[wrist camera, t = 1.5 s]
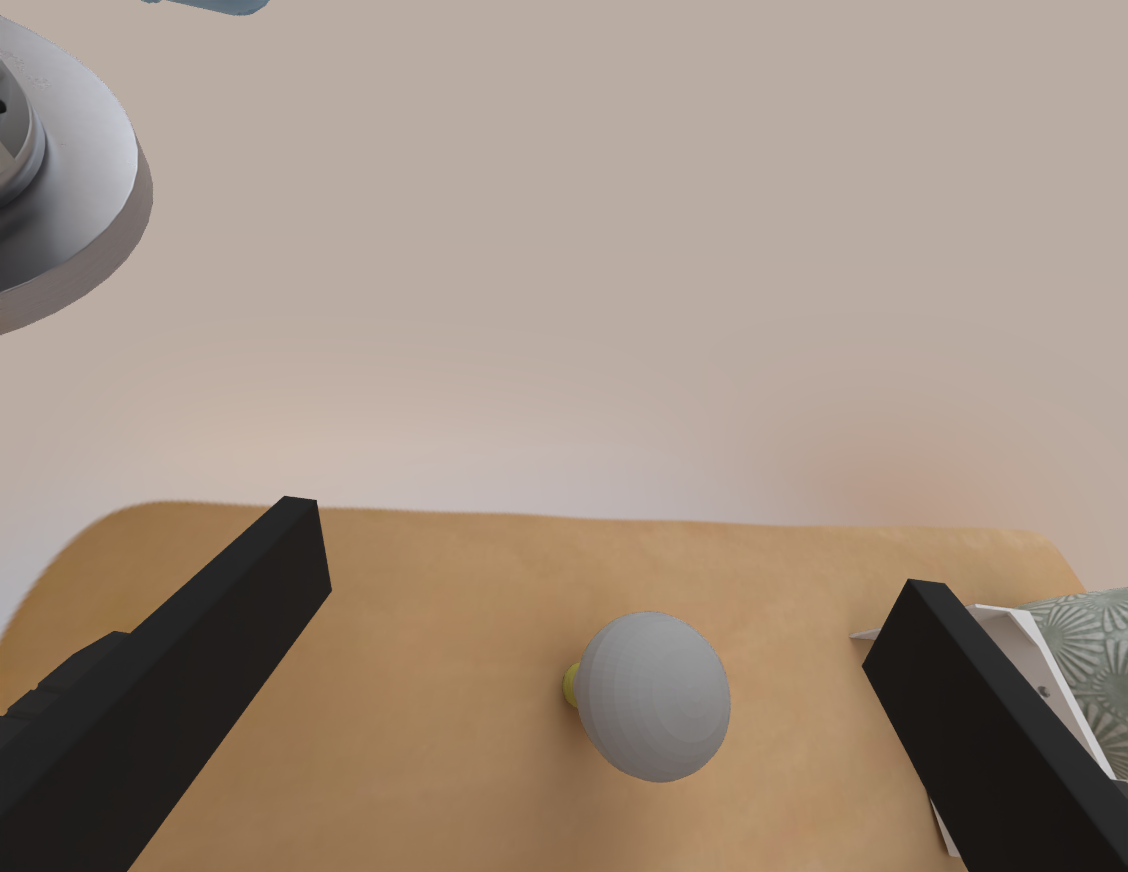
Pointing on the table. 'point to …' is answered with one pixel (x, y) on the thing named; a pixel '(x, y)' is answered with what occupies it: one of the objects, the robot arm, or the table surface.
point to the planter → (1092, 661)
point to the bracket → (1027, 676)
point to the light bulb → (651, 696)
